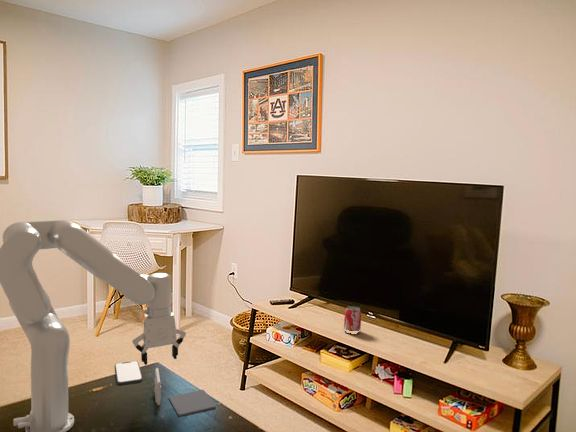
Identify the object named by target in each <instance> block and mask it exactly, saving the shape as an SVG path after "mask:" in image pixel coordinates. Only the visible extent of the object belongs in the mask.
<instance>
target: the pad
mask: <svg viewBox="0 0 576 432" xmlns="http://www.w3.org/2000/svg"><path fill="white" fill-rule="evenodd" d="M168 400H169V402H170V403H171V405H172V407H173V409H174V411H175V413H176V415H177V416H178V417H182V416H187V415H190V414H195V413H199V412H203V411H208V410H213V409H216V405H215V403H214V402H213V401H212V400H211V398H210V396H209V395H208V394H207V392H206V390H205V389H201V390H196V391H191V392H186V393H182V394H181V393H180V394H176V395H172V396H168Z"/></svg>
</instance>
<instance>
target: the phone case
mask: <svg viewBox="0 0 576 432" xmlns="http://www.w3.org/2000/svg"><path fill="white" fill-rule="evenodd" d="M114 374H115V380H116V385H118V386H122V385H123V386H125V385H128V384H129V385H130V384H136V383H141V382H143V380H144V379H143V375H142V370H141V367H140V363H139V361H138V360H132V361H124V362H118V363H115V364H114Z"/></svg>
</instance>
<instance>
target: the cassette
mask: <svg viewBox="0 0 576 432" xmlns="http://www.w3.org/2000/svg"><path fill="white" fill-rule="evenodd" d="M154 373H155V375H154V381H153V382H154V397H155V403H156V405H157V406H160V405H161V401H162V395H161V393H162V385H161V384H162V383H161V377H160V371H159V367H155V370H154Z"/></svg>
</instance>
